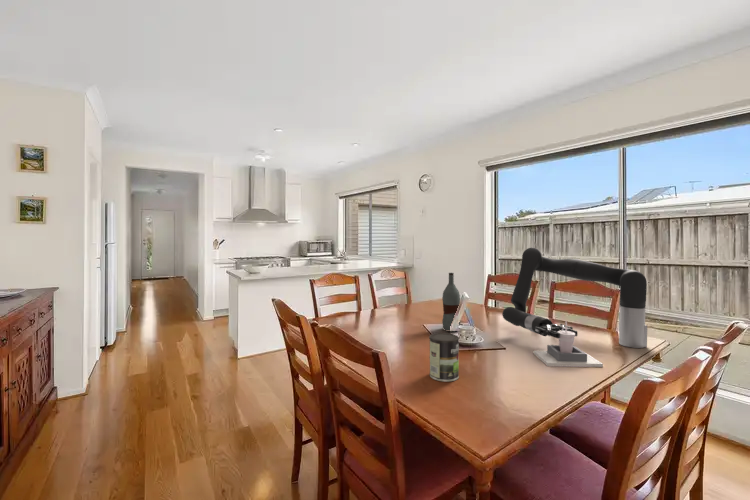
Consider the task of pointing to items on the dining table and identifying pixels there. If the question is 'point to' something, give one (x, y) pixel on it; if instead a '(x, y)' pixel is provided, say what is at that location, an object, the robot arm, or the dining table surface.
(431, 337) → the coffee can
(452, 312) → the dark grey tall bottle
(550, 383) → the dining table surface
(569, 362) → the socket stand
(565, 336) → the smoothie
